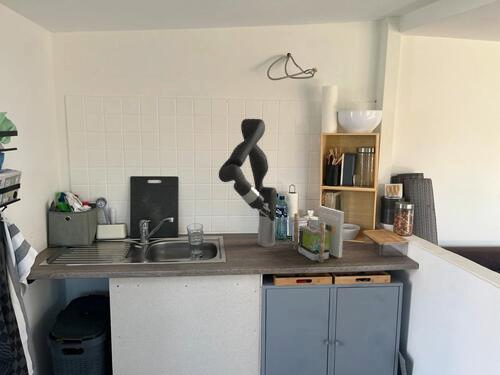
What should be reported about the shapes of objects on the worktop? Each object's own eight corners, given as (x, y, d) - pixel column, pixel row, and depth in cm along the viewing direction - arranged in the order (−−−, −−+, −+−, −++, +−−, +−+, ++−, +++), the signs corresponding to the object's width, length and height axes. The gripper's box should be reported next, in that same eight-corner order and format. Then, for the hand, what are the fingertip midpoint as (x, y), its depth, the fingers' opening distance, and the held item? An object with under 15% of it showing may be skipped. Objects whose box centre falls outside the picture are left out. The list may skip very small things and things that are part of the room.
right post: (317, 261, 187) (319, 222, 184) (321, 260, 188) (323, 222, 185) (320, 262, 185) (322, 223, 182) (324, 262, 186) (326, 223, 183)
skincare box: (311, 246, 211) (312, 219, 209) (306, 243, 217) (307, 217, 215) (324, 245, 213) (326, 219, 211) (320, 242, 219) (321, 216, 217)
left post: (292, 249, 206) (293, 213, 203) (296, 248, 207) (297, 213, 204) (294, 250, 204) (296, 214, 201) (298, 249, 205) (299, 214, 202)
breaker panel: (315, 248, 207) (316, 206, 204) (319, 247, 209) (321, 205, 205) (337, 258, 192) (339, 212, 188) (341, 257, 193) (344, 212, 190)
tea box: (329, 258, 191) (330, 230, 189) (312, 261, 187) (313, 232, 185) (313, 250, 205) (315, 223, 203) (297, 252, 201) (298, 225, 199)
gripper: (264, 193, 170) (285, 216, 177) (250, 188, 181) (271, 211, 189) (253, 205, 168) (276, 228, 176) (240, 200, 180) (261, 222, 187)
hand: (273, 219), depth 182 cm, fingers closed
